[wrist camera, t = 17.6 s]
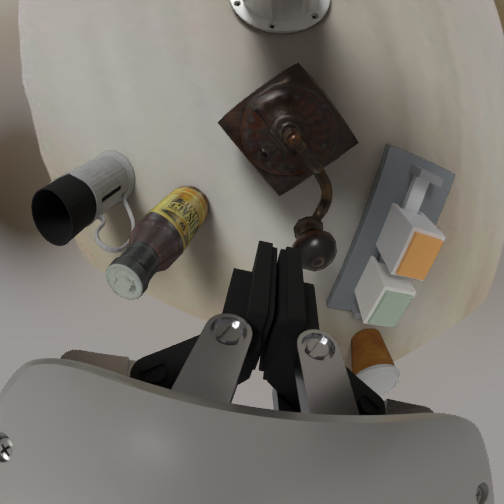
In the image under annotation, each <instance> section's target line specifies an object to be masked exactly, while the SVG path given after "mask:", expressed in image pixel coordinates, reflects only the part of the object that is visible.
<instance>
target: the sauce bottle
mask: <svg viewBox="0 0 504 504" xmlns="http://www.w3.org/2000/svg"><path fill="white" fill-rule="evenodd" d="M207 213H208V200H207V198H206V196H205V195H204V193H203V192H202V191H200V190H199V189H197V188H195V187H192V186H183V187H179V188H178V189H176V190H174V191H172V192H171V193H170V194H169V195H168V196H167V197H165V198H164V199H163V200H162V201H161V202H160V203H159V204H157V205H156V206H155V207H154V208H153V209H152V210H150V211H149V212H148V213H147V214H146V215H145V216H144V217H143V218H142V220H140V221H139V222H138V223H137V224H136V225H135V226H134V228H133V230H132V231H131V234H130V237H129V246H128V247H127V249H126V251H125V252H124V253H123V254H122V255H121V256H120V257H118V258H116V259H115V260H113V262H112V263H111V264H110V265H109V267H108V268H107V270H106V279H107V282H108V284H109V286H110V287H111V288H112V290H113V291H114V292H115V293H116V294H117V295H119V296H120V297H123V298H125V299H128V300H134V299H138V298H139V297H140V296H141V295H142V294H143V293H144V292H145V290H146V289H147V287H148V284H149V281H150V279H151V278H152V276H153V275H154V274H155V273H156V272H159V271H164V270H166V269H168V268H169V267H170V266H171V265H172V264H173V262H174V261H175V260H176V259H177V258H178V257H179V256H180V255H181V254H182V253H183V252H184V250H185V249H186V247H187V246H188V244H189V243H190V241H191V240H192V238H193V237H194V235H195V234H196V232H197V231H198V229H199V228H200V226H201V225H202V223H203V222H204V220H205V218H206V216H207Z"/></svg>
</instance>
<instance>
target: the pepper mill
mask: <svg viewBox="0 0 504 504" xmlns="http://www.w3.org/2000/svg"><path fill="white" fill-rule="evenodd" d="M218 124H219V125H220V126H221V127H222V129H223V130H224V131H225V132H226V134H227V135H228V136H229V137H230V139H231V140H232V141H233V142H234V143H235V145H236V146H237V147H238V148H239V149H240V151H241V152H242V153H243V154H244V155H245V157H246V158H247V159H248V160H249V161H250V163H251V164H252V165H253V166H254V167H255V168H256V170H257V171H258V172H259V173H260V174H261V176H262V177H263V178H264V179H265V181H266V182H267V183H268V184H269V185H270V186H271V187H272V188H273V189H274V190H275V191H276V193H277V194H278V195H279V196H280V195H282V194H284V193H285V192H287V191H289V190H291V189H292V188H294V187H295V186H297V185H298V184H300V183H302V182H303V181H304V180H306V179H307V178H309V177H310V176H312V175H313V174H314V175H315V177H316V179H317V181H318V183H319V184H320V187H321V191H322V194H321V200H320V202H319V204H318V206H317V208H316V210H315V212H314V213H313V215H312V216H309V217H305V218H302V219H300V220H298V222H297V223H296V225H295V226H294V233H295V238H297V239H296V241H295V242H294V244H293V247H292V248H296V249H300V250H301V259H302V268H303V269H307V270H311V271H314V272H315V271H318V270H321V269H324V268H326V267H327V266H328V265H329V264H330V263H332V262H333V260H334V258H335V256H336V253H337V250H336V241H335V239H334V238H333V236H332V235H331V234H330V233H329V232H326V231H323V223H322V222H321V220H322V218H323V217H324V216H325V214H326V213H327V211H328V209H329V207H330V204H331V200H332V188H331V182H330V179H329V177H328V175H327V173H326V171H325V170H324V168H323V167H325V166H327V165H328V164H330V163H331V162H333V161H335V160H336V159H338V158H339V157H340V156H341V155H342V154H344V153H345V152H346V151H348V150H349V149H351V148H352V147H353V146H355V145H356V144H357V143H358V141H357V139H356V138H355V136H354V134H353V133H352V131H351V130H350V128H349V126H348V125H347V123H346V122H345V120H344V119H343V118H342V116H341V115H340V113H339V112H338V110H337V109H336V107H335V106H334V105H333V103H332V102H331V100H330V99H329V98H328V96H327V95H326V94H325V92H324V91H323V90H322V89H321V88H320V86H319V85H318V84H317V83H316V82H315V81H314V80H313V78H312V77H311V76H310V75H309V74H308V73H307V72H306V71H305V70H304V69H303V68H302V66H301V65H300V64H299V63H297V64H295V65H293V66H291V67H289V68H288V69H286V70H284V71H283V72H281V73H279V74H278V75H276V76H275V77H274V78H272V79H271V80H269V81H268V82H267V83H265V84H264V85H262V86H261V87H260V88H258V89H257V90H256V91H254V92H253V93H252V94H250V95H249V96H248V97H246V98H245V99H244V100H242V101H241V102H240V103H238V104H237V105H236V106H235V107H234V108H233V109H231V110H230V111H229V112H228V113H227V114H226V115H224V117H223V118H222V119H221V120H220V121H219V122H218Z"/></svg>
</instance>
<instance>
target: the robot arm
mask: <svg viewBox="0 0 504 504" xmlns="http://www.w3.org/2000/svg"><path fill="white" fill-rule="evenodd" d="M230 3H231V5H232V8H233V9H234V11H235V13H236V14H237V15H238V16H239V17H240V18H241V19H242V20H243V21H244V22H246V23H247V24H249V25H251V26H253V27H254V28H257V29H260V30H262V31H266V32H271V33H283V34H284V33H294V32H298V31H302V30H305V29H307V28H310V27H312V26H313V25H315V24H316V23H318V22H319V21H320V20H321V19H322V18H323V17H324V15H325V14H326V12H327V10H328V8H329V5H330V0H230ZM237 4H240V6H237ZM313 16H314V17H316V19H313V18H312V17H313ZM270 26H274V28H270ZM259 357H260V363H259V371H264V376H263V379H264V380H267V381H268V382H269V384H271V386H272V387H273V392H272V396H273V404H274V410H270V409H262V408H256V407H249V406H244V405H237V404H232V403H231V402H232V399H233V396H234V394H235V391H236V388H237V385H238V384H240V383H242V382H244V381H245V380H247V379H249V378H250V375H251V372H252V370H255V368H256V365H257V363H258V360H259ZM0 504H494V495H493V484H492V476H491V471H490V465H489V460H488V455H487V451H486V448H485V444H484V441H483V439H482V436H481V433H480V431H479V429H478V428H477V426H476V425H475V424H474V423H472V422H471V421H469V420H467V419H465V418H462V417H459V416H456V415H451V414H445V413H434V412H433V411H432V410H431V409H430V408H428V407H425V406H420V405H415V404H410V403H405V402H400V401H396V400H391V399H386V400H385V401H383V400H382V398H381V397H380V396H379V395H378V394H377V393H376V392H375V391H373V390H372V389H371V388H370V387H369V386H368V385H366V384H365V383H364V382H363V381H362V380H361V379H359V378H358V377H357V376H356V375H355V374H354V373H353V372H351V371H350V370H349V369H348V368H347V367H346V366H345V364H344V361H343V357H342V354H341V351H340V348H339V345H338V343H337V341H336V340H335V339H334V338H333V337H332V336H331V335H329V334H328V333H326V332H324V331H321V330H319V323H318V314H317V305H316V297H315V289H314V285H313V284H309V283H304V281H303V270H302V259H301V250H300V249H296V248H292V247H286V250H284V249H281V251H280V254H279V257H278V261H277V248H274V247H273V243H268V242H263V241H259V244H258V249H257V253H256V257H255V262H254V266H253V270H252V272H250V271H245V270H240V269H236V268H234V270H233V274H232V278H231V282H230V286H229V289H228V293H227V297H226V301H225V305H224V309H223V313H222V314H219V315H215V316H214V317H212V318H210V319H209V321H208V322H207V323H206V325H205V327H204V329H203V330H202V332H201V334H200V335H198V336H196V337H193V338H191V339H188V340H186V341H183V342H181V343H178V344H176V345H173V346H171V347H169V348H166V349H163V350H161V351H158V352H156V353H153V354H150V355H148V356H145V357H143V358H141V359H139V360H138V361H134V360H129V358H128V357H124V356H116V355H108V354H102V353H94V352H88V351H83V350H70V351H68V352H66V353H65V354H63V355H62V356H61V358H60V359H58V358H45V359H36V360H32V361H29V362H27V363H25V364H24V365H22V366H21V367H20V368H19V369H18V370H17V371H16V372H15V373H14V374H13V375H12V377H11V378H10V379H9V381H8V382H7V383H6V385H5V386H4V388H3V389H2V391H1V393H0Z"/></svg>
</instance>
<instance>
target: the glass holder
mask: <svg viewBox="0 0 504 504" xmlns="http://www.w3.org/2000/svg"><path fill="white" fill-rule="evenodd" d="M134 185H135V173H134V170H133V167H132V165H131V163H130V161H129V160H128V159H127V158H126V157H125V156H124V155H123V154H122V153H120V152H117V151H114V150H108V151H104V152H102V153H100V154H99V155H98V156H97V157H96V158H95V159H93V160H91V161H89V162H87V163H85V164H83V165H81V166H79V167H77V168H75V169H73V170H71V171H69V172H67V173H65V174H63V175H62V176H60V177H58V178H56V179H54V180H53V181H52V182H51V183H49V184H48V185H47V186H45V187H43V188H41V189H40V190H38V191H37V192H36V193H35V195H34V196H33V199H32V205H31V206H32V207H31V208H32V216H33V220H34V222H35V225H36V227H37V229H38V230H39V232H40V233H41V234H42V236H43V237H44V238H45V239H46V240H47V241H49V242H50V243H52V244H54V245H57V246H63V245H65V244H67V243H68V242H69V241H70V240H71V239H73V238H74V237H75V236H76V235H77V234H78V233H79V232H80V231H82V230H83V229H84V228H85V227H87V226H89V225H90V224H92V223H93V222H94V221H95V220H96V219H99V220H101V221H102V223H101V224H100V225H99V226H98V228H97V229H96V232H95V241H96V243H97V244H98V245H99V247H100V248H102V249H104V250H106V251H108V252H114V253H117V252H121V251H122V250H124V249H125V248H126V247H127V246H128V245H129V239H128V241H127V242H126V243H125V244H124V245H123V246H121V247H110V246H108V245H106V244H104V243H103V242H102V241H101V240H100V238H99V236H98V233H99V231H100V230H101V229H102V228H103V226H104V225H105V221H106V220H105V218H104V216H102V214H104V213H105V212H106V211H107V210H108V209H110V208H111V207H112V206H113V205H115V204H116V203H117V202H121V201H123V204H124V206H125V208H126V210H127V212H128V215H129V217H130V220H131V225H132V229H131V231H132V230H133V228H134V226H135V218H134V216H133V213H132V211H131V208H130V206H129V204H128V202H127V200H126V199H127V198H128V197H129V196H130V195H131V193H132V191H133V189H134Z"/></svg>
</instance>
